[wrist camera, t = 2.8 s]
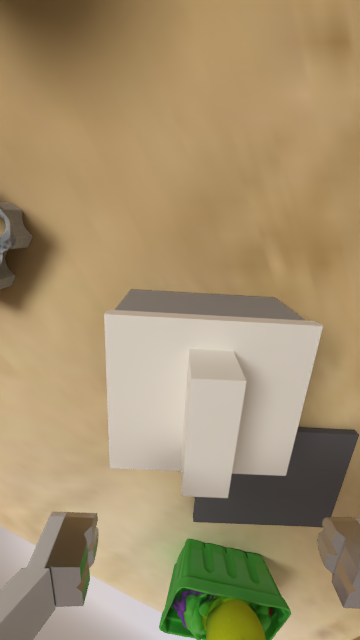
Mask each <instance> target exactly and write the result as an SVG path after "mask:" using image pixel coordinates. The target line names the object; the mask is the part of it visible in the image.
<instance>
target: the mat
mask: <svg viewBox="0 0 360 640" xmlns="http://www.w3.org/2000/svg"><path fill="white" fill-rule="evenodd" d="M358 436H359V434H358V433H357V432H356V431H355V430H342V429H321V428H300V427H298V429H297V433H296V437H295V441H294V445H293V449H292V453H291V457H290V461H289V465H288V469H287V473H286V476H276V475H254V474H232V475H231V481H230V488H229V494H228V498H212V497H195V503H194V513H193V522H210V523H235V524H259V525H284V526H309V527H323V526H322V522H323V519H325V518H326V517H331V515H332V512H333V509H334V506H335V503H336V500H337V497H338V494H339V492H340V489H341V486H342V483H343V480H344V477H345V474H346V471H347V468H348V465H349V462H350V460H351V457H352V454H353V451H354V448H355V445H356V442H357V439H358Z"/></svg>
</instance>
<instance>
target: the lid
mask: <svg viewBox="0 0 360 640" xmlns="http://www.w3.org/2000/svg"><path fill="white" fill-rule="evenodd" d="M104 320H105V348H106V375H107V403H108V430H109V458H110V468H118V469H140V470H163V471H182V496H189V497H212V498H228V494H229V488H230V481H231V475H232V474H254V475H276V476H286V473H287V469H288V465H289V461H290V457H291V453H292V449H293V445H294V441H295V437H296V433H297V429H298V425H299V421H300V417H301V413H302V409H303V405H304V401H305V397H306V393H307V389H308V385H309V381H310V377H311V373H312V369H313V365H314V361H315V357H316V352H317V348H318V344H319V340H320V336H321V332H322V328H323V326H322V325H321V324H319V323H318V322H316V321H305V320H287V319H269V318H251V317H233V316H215V315H197V314H178V313H160V312H142V311H124V310H107V312H106V313H105V314H104Z"/></svg>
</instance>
